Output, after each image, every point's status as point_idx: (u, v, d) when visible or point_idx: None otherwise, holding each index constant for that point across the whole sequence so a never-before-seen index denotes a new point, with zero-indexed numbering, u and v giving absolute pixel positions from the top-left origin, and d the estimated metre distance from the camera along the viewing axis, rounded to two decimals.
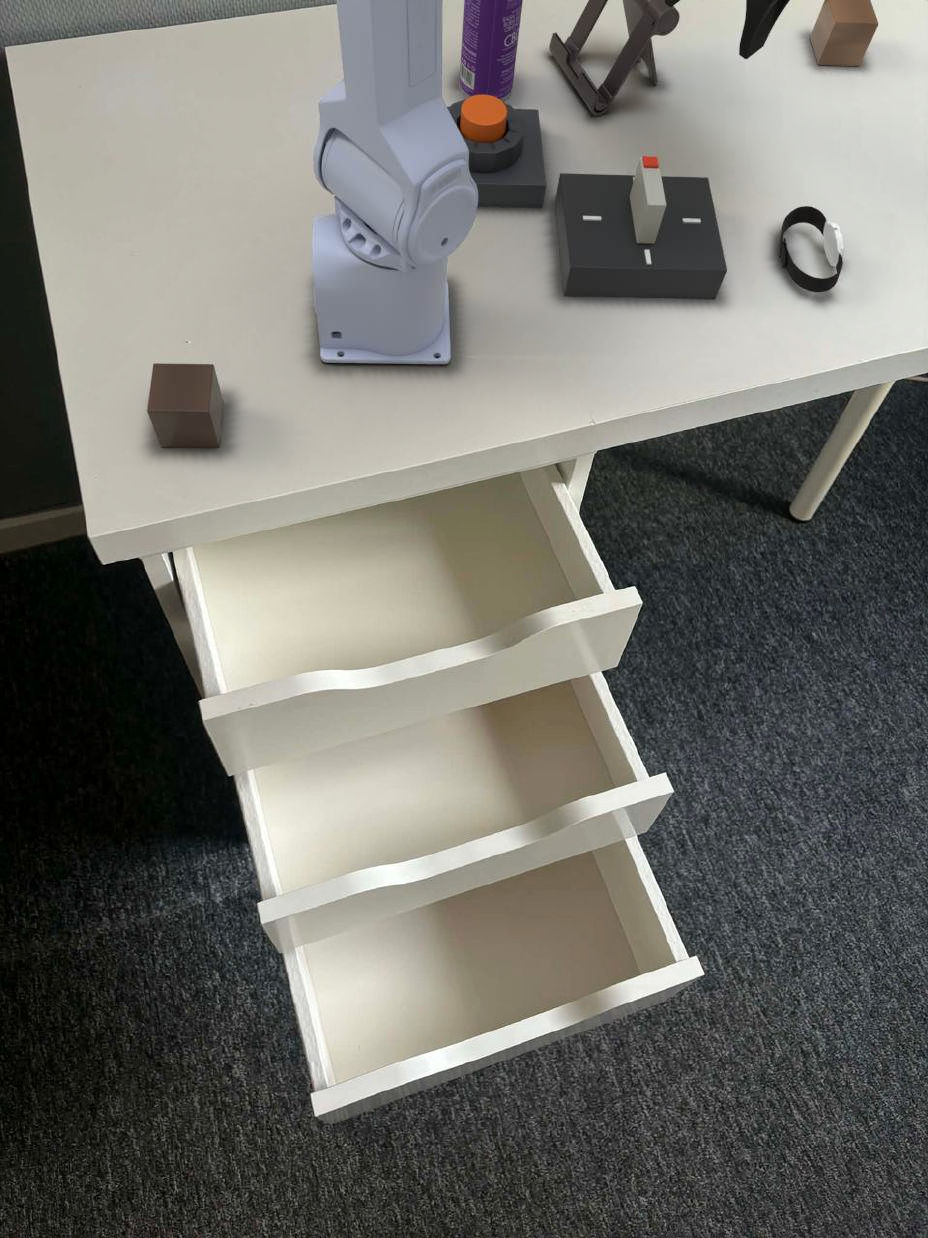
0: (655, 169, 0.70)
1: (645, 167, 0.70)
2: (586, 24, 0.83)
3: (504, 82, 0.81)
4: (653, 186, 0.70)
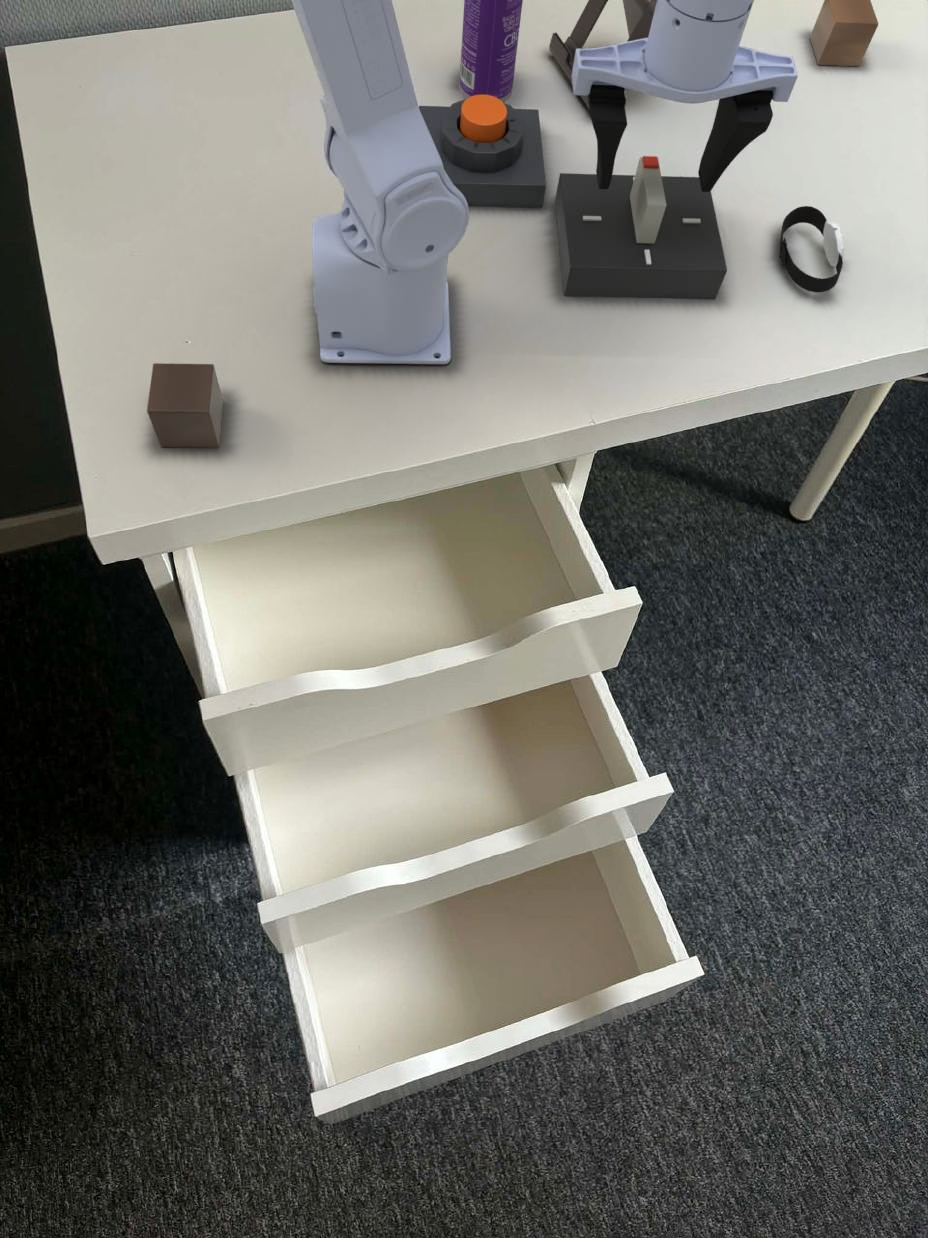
0: (655, 169, 0.70)
1: (645, 167, 0.70)
2: (586, 24, 0.83)
3: (504, 82, 0.81)
4: (653, 186, 0.70)
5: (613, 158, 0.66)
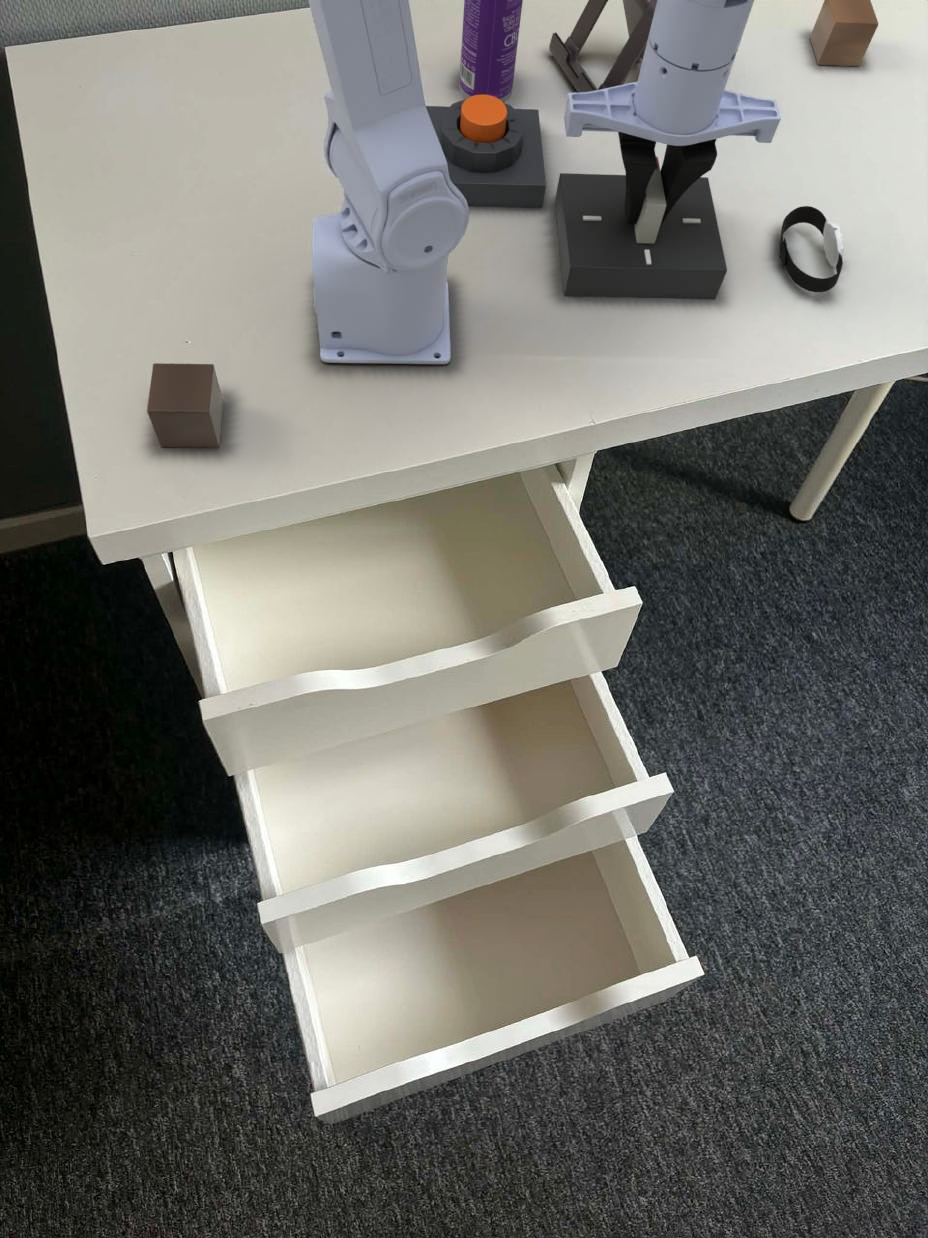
0: (655, 169, 0.70)
1: None
2: (586, 24, 0.83)
3: (504, 82, 0.81)
4: (653, 186, 0.70)
5: (642, 196, 0.69)
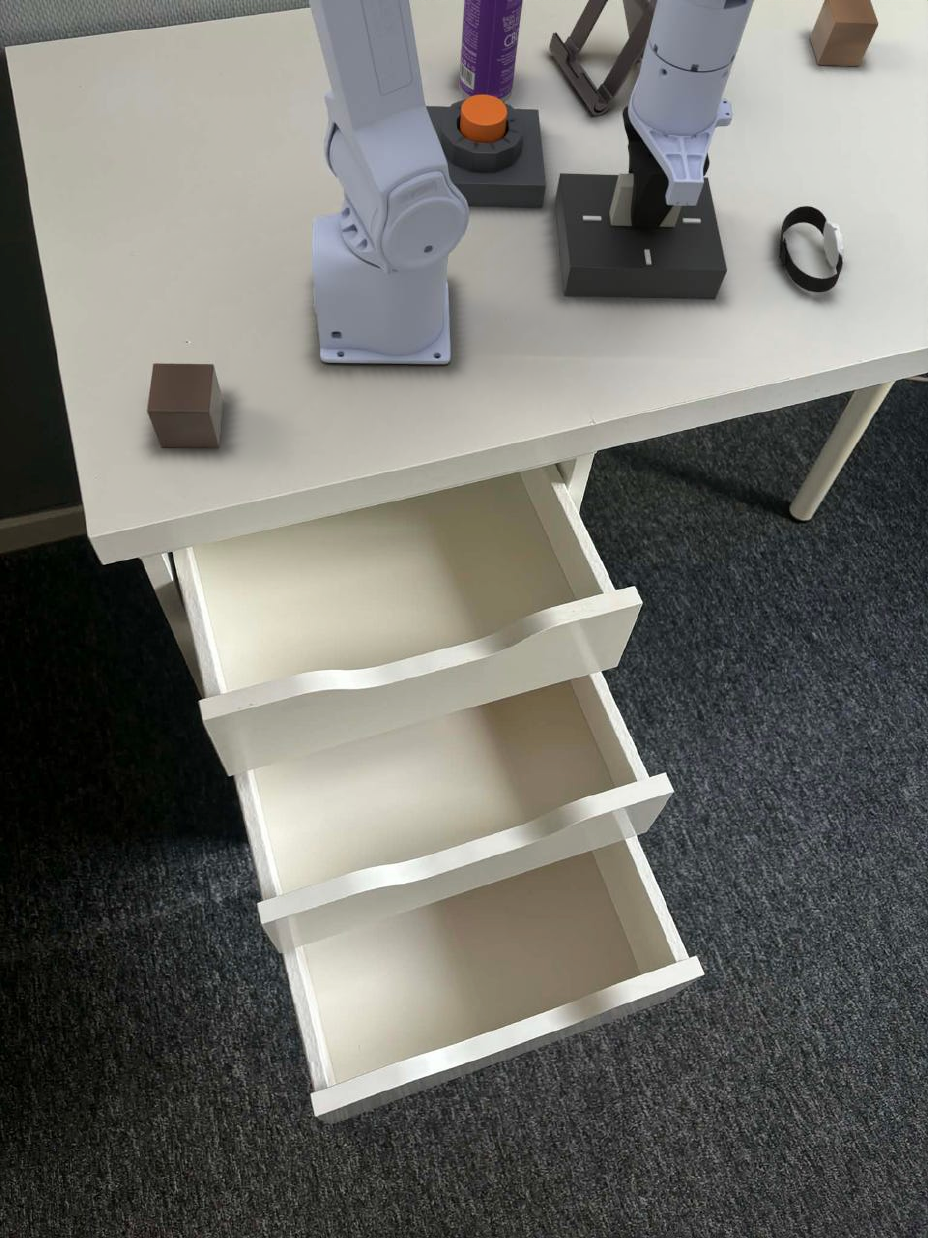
0: None
1: None
2: (586, 24, 0.83)
3: (504, 82, 0.81)
4: None
5: (629, 171, 0.70)
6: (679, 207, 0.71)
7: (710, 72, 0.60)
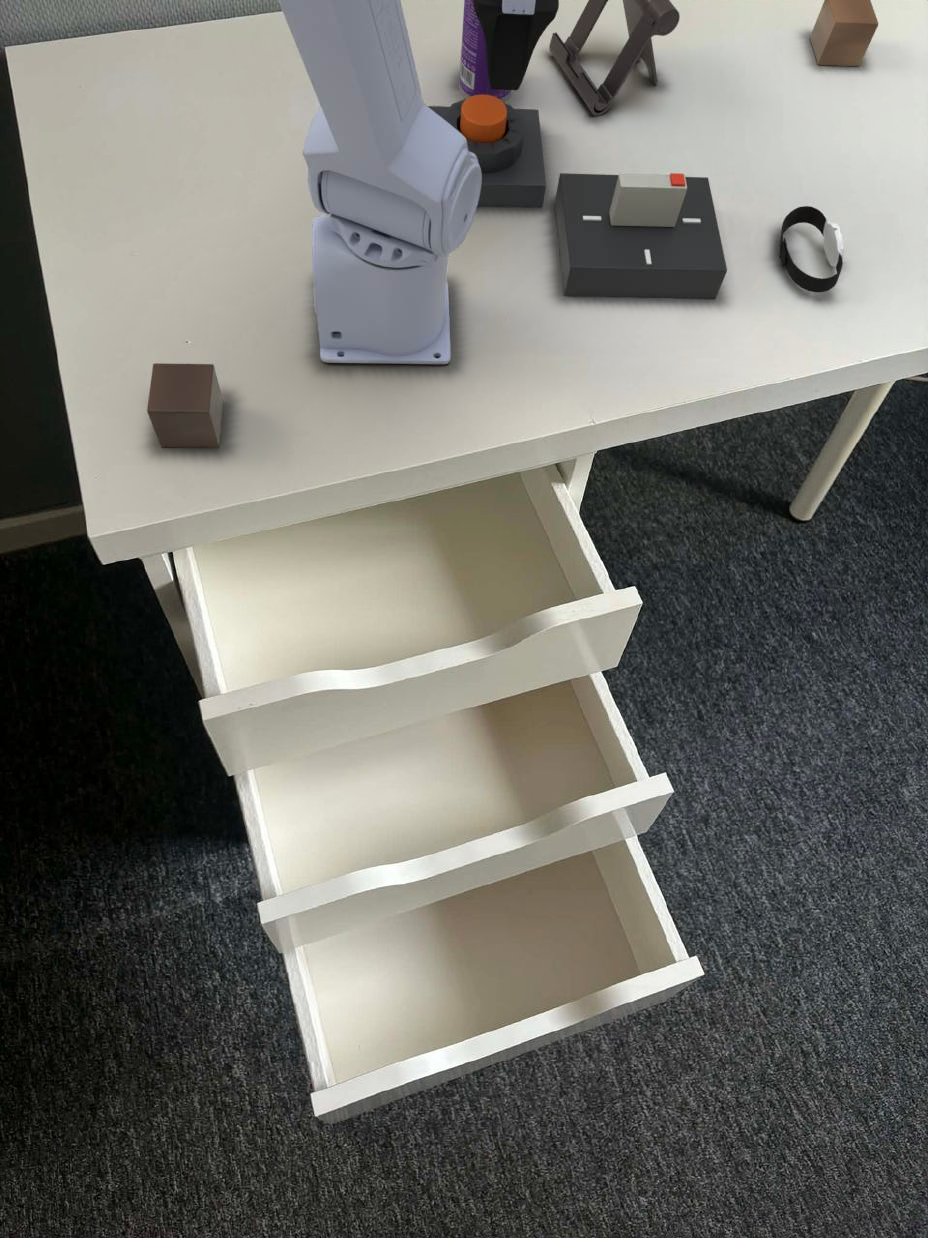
0: (668, 183, 0.70)
1: (669, 177, 0.70)
2: (586, 24, 0.83)
3: None
4: (645, 179, 0.70)
5: None
6: (679, 207, 0.71)
7: None
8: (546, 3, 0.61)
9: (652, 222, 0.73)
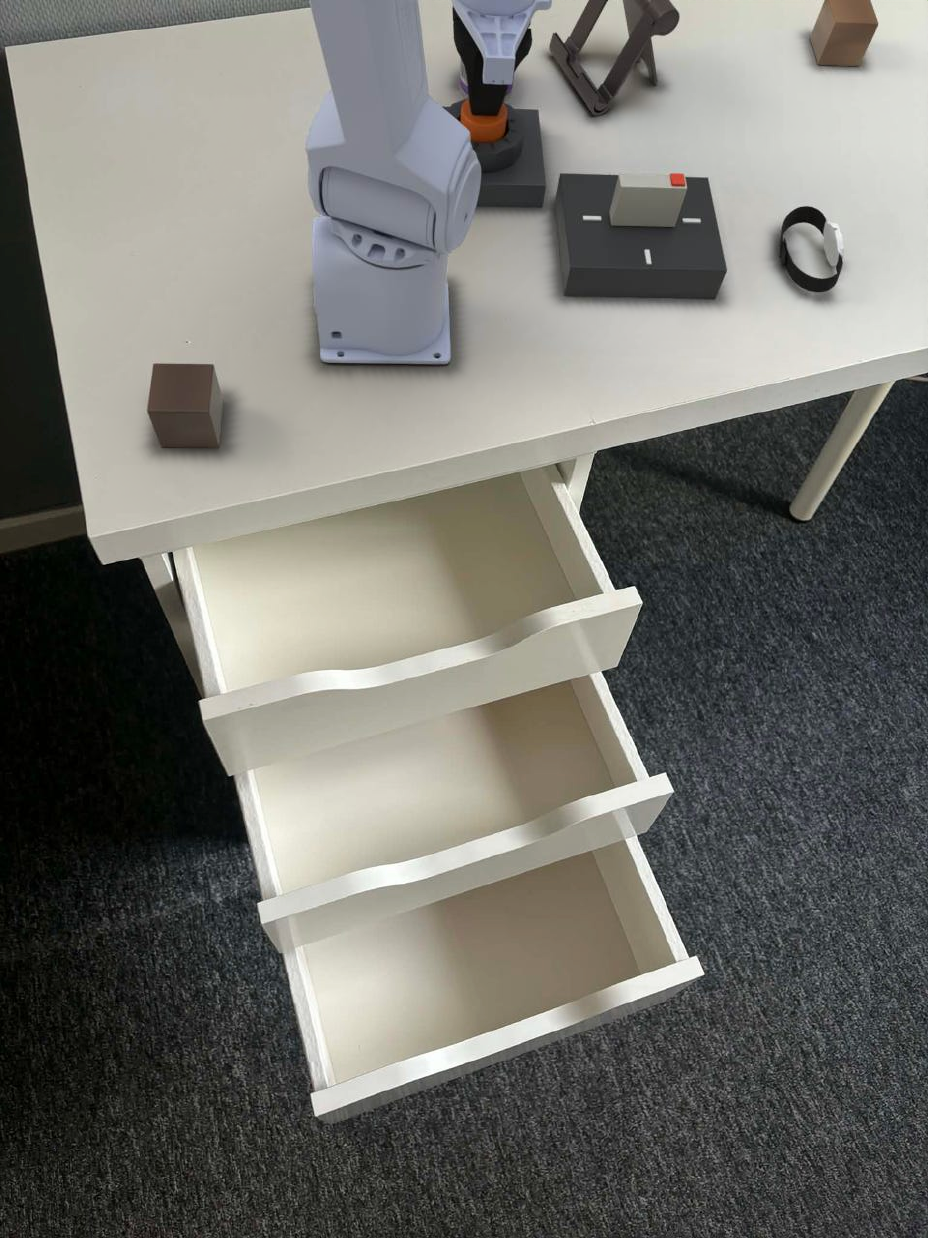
0: (668, 183, 0.70)
1: (669, 177, 0.70)
2: (586, 24, 0.83)
3: None
4: (645, 179, 0.70)
5: None
6: (679, 207, 0.71)
7: None
8: (520, 40, 0.67)
9: (652, 222, 0.73)
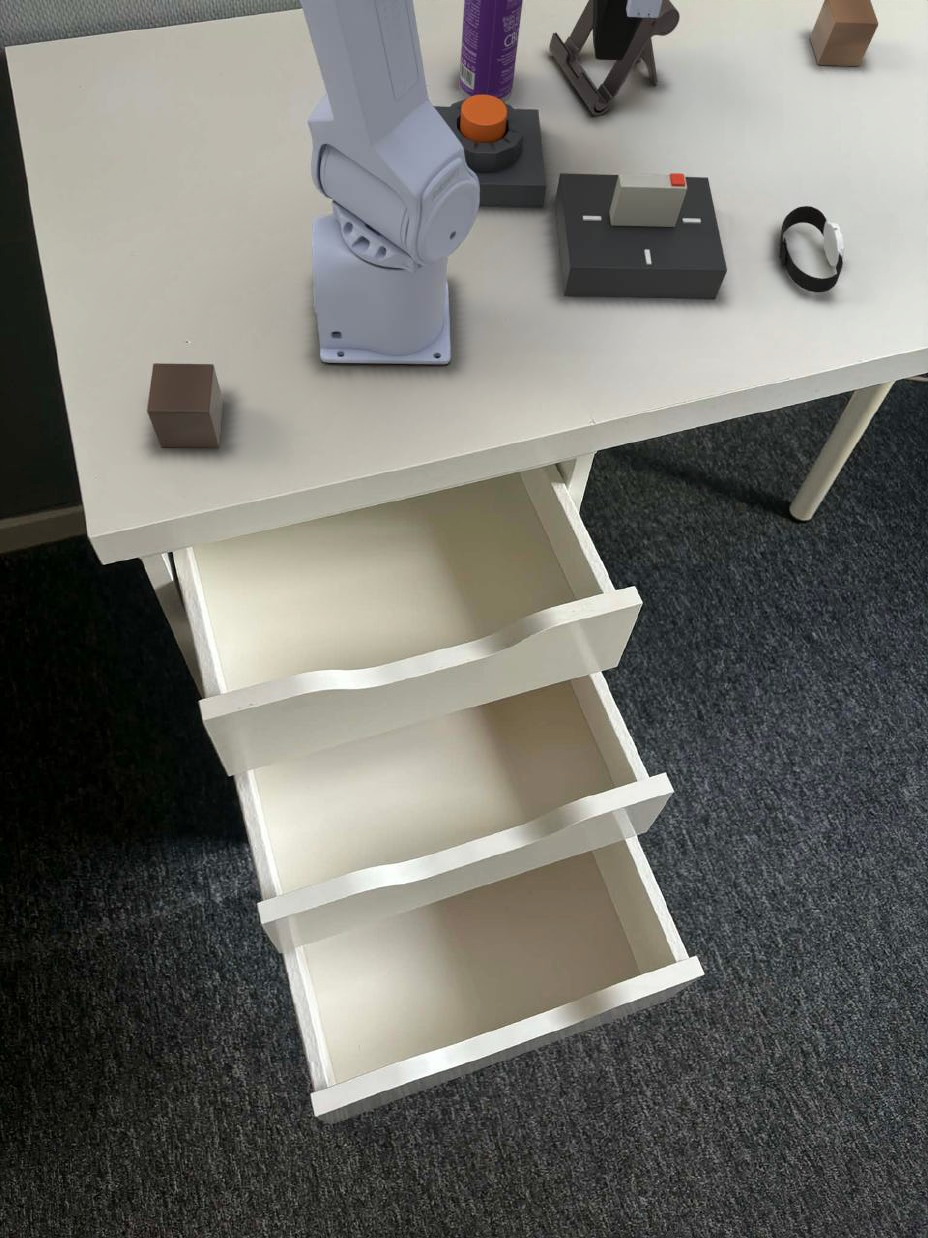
0: (668, 183, 0.70)
1: (669, 177, 0.70)
2: (586, 24, 0.83)
3: (504, 82, 0.81)
4: (645, 179, 0.70)
5: (593, 8, 0.67)
6: (679, 207, 0.71)
7: None
8: None
9: (652, 222, 0.73)
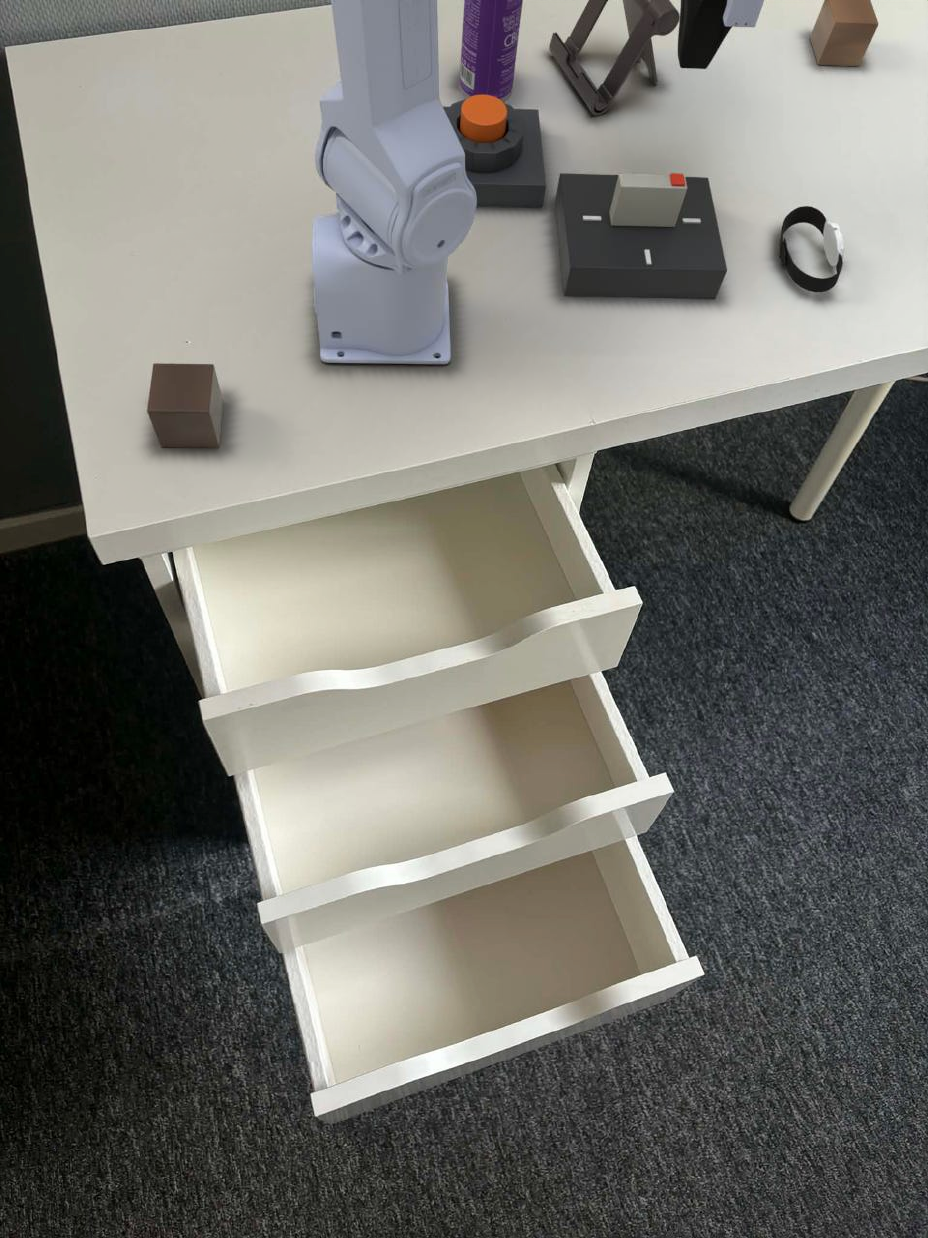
0: (668, 183, 0.70)
1: (669, 177, 0.70)
2: (586, 24, 0.83)
3: (504, 82, 0.81)
4: (645, 179, 0.70)
5: (681, 17, 0.67)
6: (679, 207, 0.71)
7: None
8: None
9: (652, 222, 0.73)
